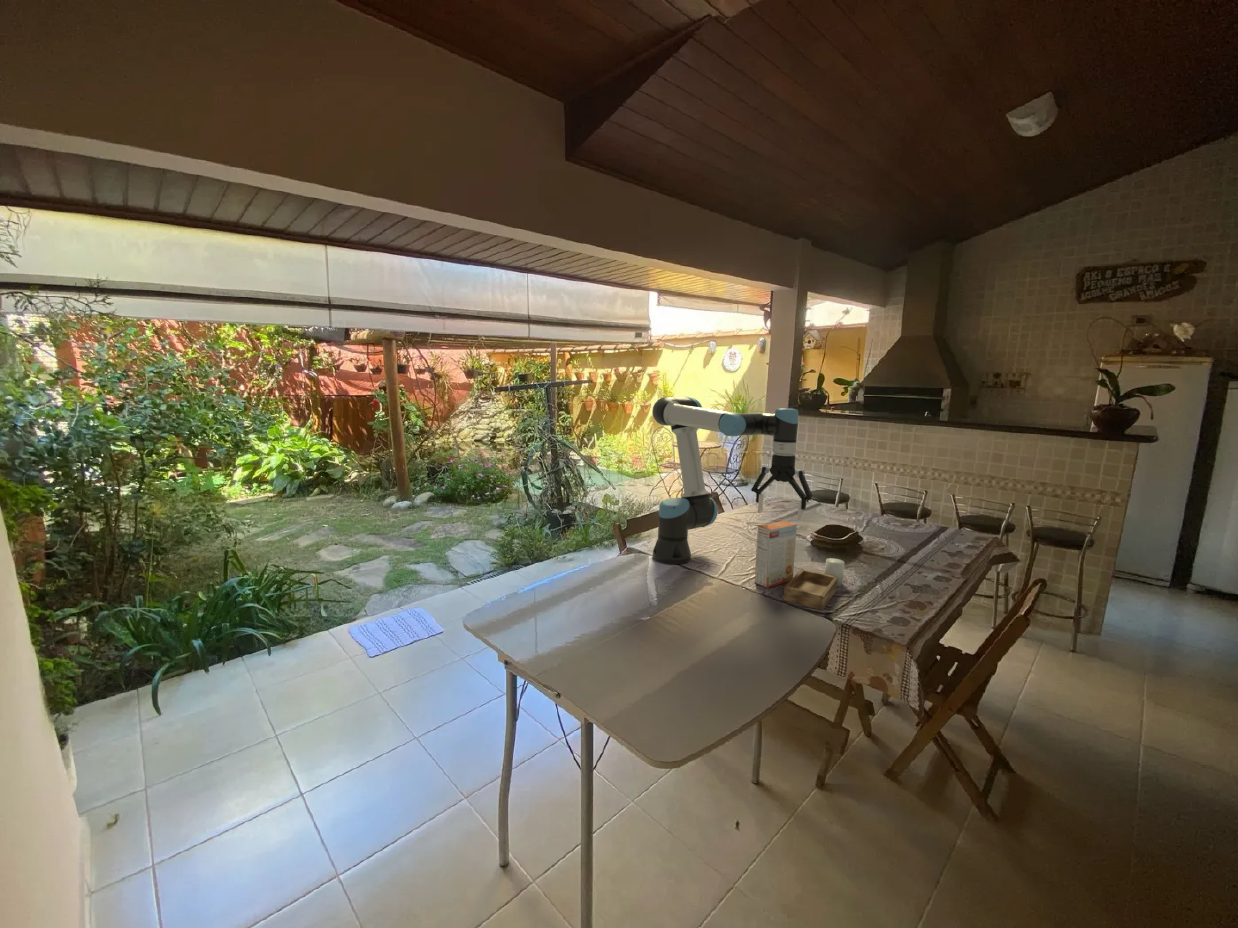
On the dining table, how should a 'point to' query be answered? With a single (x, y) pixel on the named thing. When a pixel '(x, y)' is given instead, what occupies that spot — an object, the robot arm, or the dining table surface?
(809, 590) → the tray
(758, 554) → the cracker box
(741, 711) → the dining table surface
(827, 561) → the cream rounded shape
